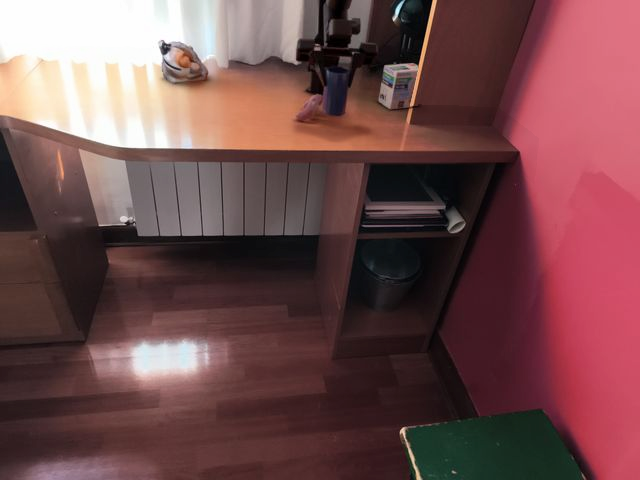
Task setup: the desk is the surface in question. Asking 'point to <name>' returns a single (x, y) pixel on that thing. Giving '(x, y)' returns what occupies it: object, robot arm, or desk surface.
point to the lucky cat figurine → (181, 62)
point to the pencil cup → (335, 90)
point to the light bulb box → (398, 85)
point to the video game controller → (310, 108)
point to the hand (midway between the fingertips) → (337, 86)
